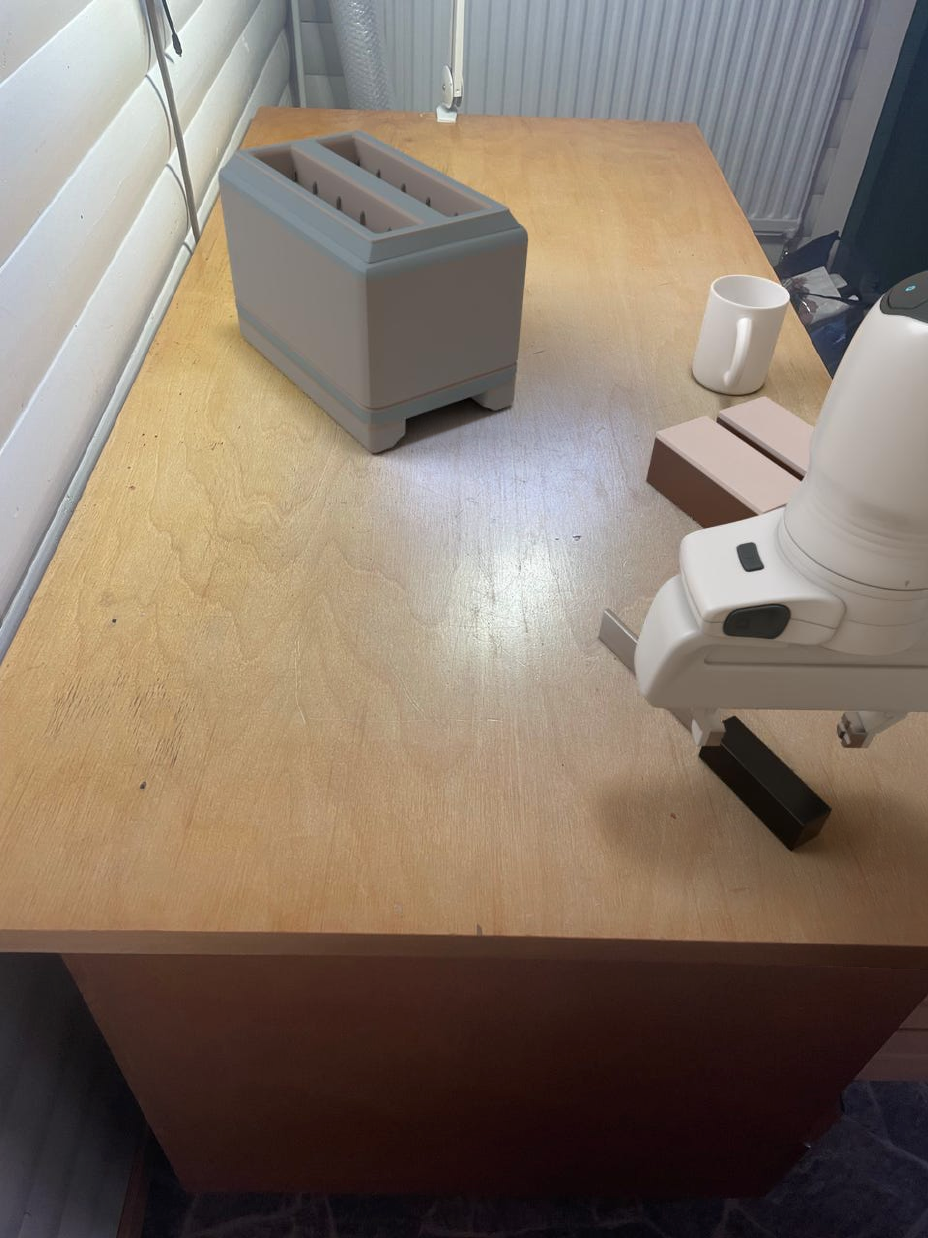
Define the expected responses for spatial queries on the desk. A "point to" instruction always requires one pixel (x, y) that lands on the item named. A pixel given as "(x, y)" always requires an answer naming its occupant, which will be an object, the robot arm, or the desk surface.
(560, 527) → the desk surface
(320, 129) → the desk surface
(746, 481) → the cake
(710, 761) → the knife
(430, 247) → the toaster
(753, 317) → the mug
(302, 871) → the desk surface
